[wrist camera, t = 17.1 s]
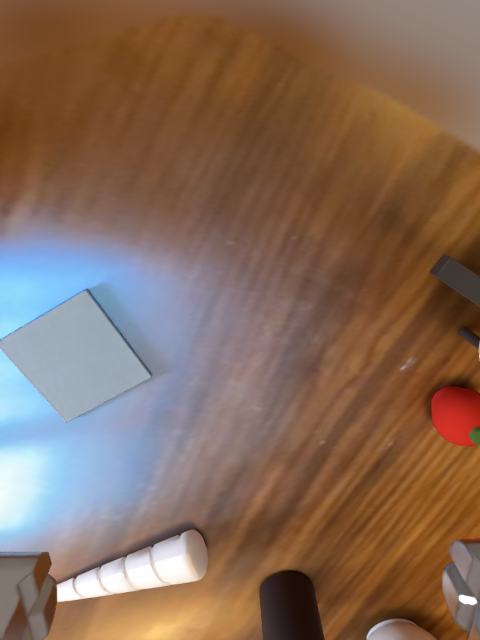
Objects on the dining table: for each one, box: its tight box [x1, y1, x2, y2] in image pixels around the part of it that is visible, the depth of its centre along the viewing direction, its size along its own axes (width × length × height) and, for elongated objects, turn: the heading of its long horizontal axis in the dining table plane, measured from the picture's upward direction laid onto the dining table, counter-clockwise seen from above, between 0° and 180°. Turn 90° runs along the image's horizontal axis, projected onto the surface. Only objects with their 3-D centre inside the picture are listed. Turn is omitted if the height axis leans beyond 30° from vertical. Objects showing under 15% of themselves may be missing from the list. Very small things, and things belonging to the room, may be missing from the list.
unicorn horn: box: [57, 529, 208, 602], centre depth 47 cm, size 5×24×5 cm, turn 111°
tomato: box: [431, 386, 480, 446], centre depth 40 cm, size 5×5×6 cm
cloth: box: [0, 289, 152, 422], centre depth 39 cm, size 10×10×1 cm
